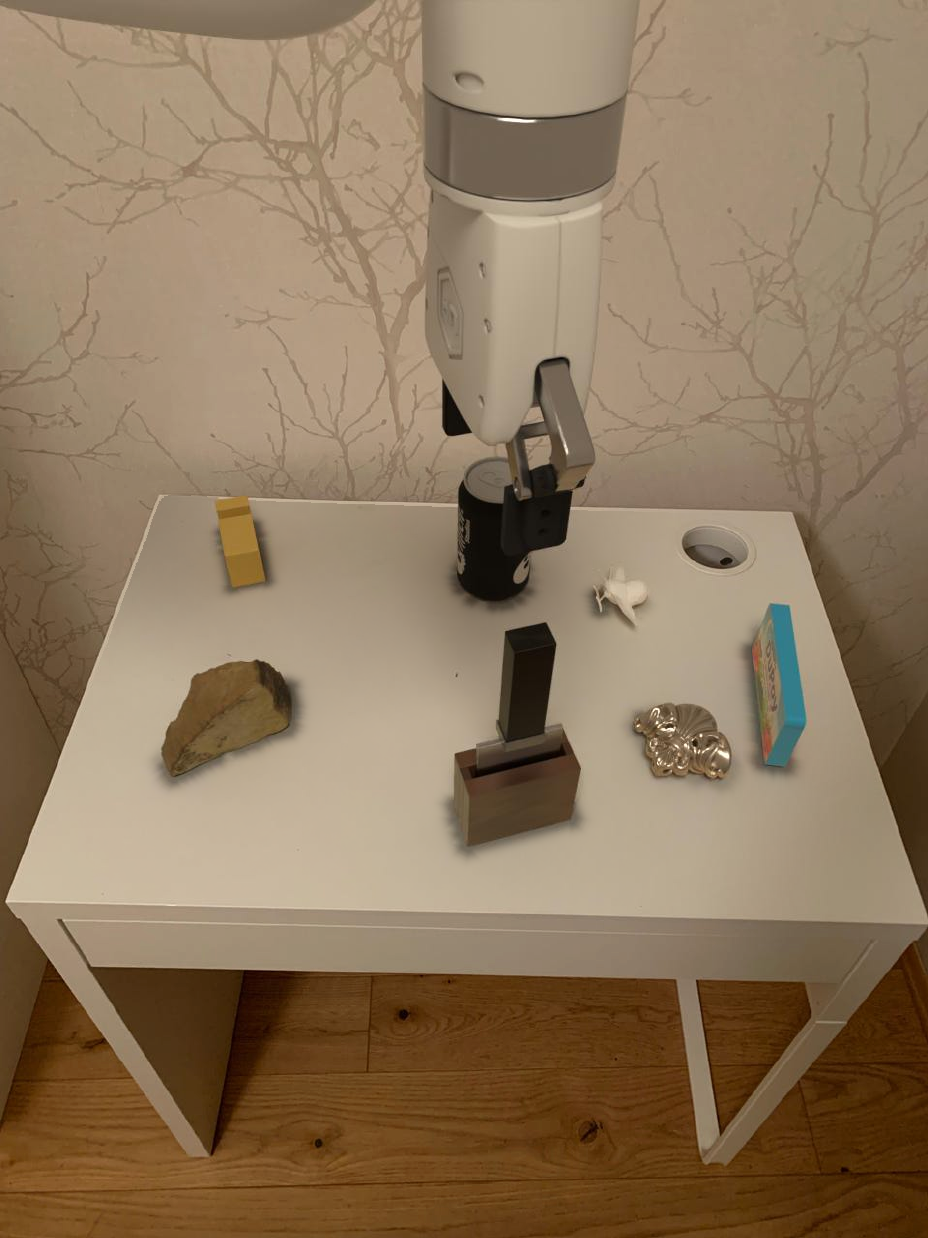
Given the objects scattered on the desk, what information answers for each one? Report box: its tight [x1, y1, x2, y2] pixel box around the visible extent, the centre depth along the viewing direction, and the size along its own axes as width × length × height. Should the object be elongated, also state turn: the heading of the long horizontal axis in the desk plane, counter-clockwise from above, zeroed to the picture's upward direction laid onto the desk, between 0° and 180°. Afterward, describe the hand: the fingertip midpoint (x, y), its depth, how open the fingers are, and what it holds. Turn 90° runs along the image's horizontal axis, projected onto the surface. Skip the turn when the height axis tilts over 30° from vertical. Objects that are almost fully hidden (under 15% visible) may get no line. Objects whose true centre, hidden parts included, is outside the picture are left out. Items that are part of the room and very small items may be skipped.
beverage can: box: [456, 456, 533, 602], centre depth 79 cm, size 7×7×12 cm
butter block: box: [217, 513, 267, 589], centre depth 83 cm, size 3×5×4 cm, turn 17°
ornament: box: [633, 702, 733, 779], centre depth 70 cm, size 8×7×4 cm
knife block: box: [453, 728, 582, 848], centre depth 65 cm, size 8×4×7 cm, turn 107°
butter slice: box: [214, 494, 252, 520], centre depth 86 cm, size 3×2×4 cm, turn 107°
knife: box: [475, 621, 564, 778], centre depth 60 cm, size 6×2×20 cm, turn 107°
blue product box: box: [751, 602, 807, 768], centre depth 72 cm, size 12×2×6 cm, turn 173°
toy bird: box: [592, 561, 650, 628], centre depth 80 cm, size 8×5×5 cm, turn 3°
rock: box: [160, 658, 292, 777], centre depth 70 cm, size 11×9×10 cm
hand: (500, 484), depth 47 cm, fingers open, 9 cm apart
